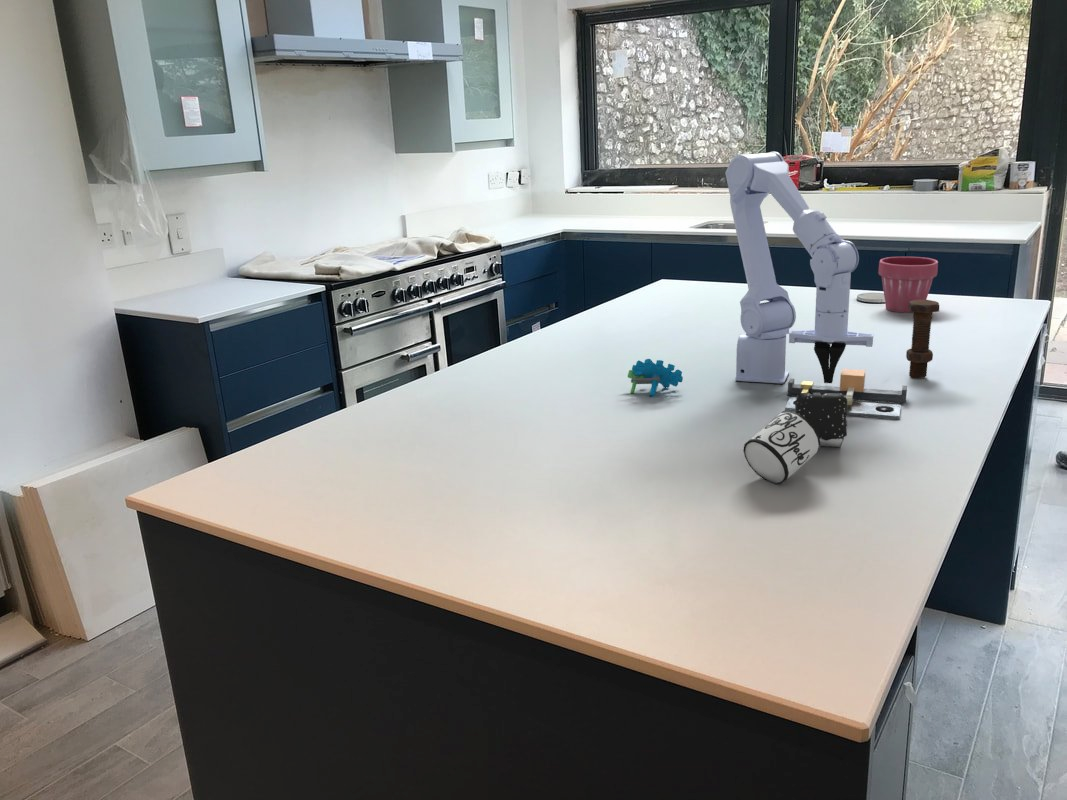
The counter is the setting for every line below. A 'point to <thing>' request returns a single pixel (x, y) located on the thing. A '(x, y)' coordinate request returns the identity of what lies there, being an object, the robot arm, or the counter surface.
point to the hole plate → (862, 409)
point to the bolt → (921, 337)
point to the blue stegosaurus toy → (654, 375)
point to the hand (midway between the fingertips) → (828, 381)
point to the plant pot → (906, 280)
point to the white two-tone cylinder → (797, 435)
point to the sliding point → (852, 382)
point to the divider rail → (863, 396)
